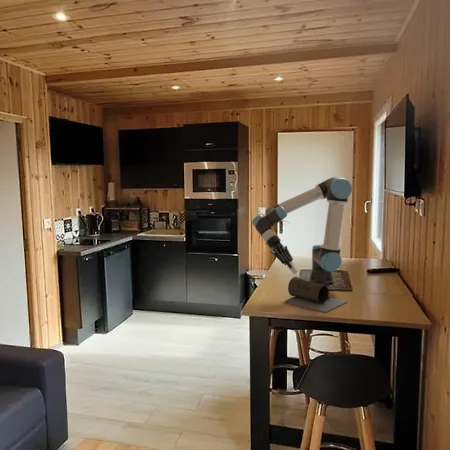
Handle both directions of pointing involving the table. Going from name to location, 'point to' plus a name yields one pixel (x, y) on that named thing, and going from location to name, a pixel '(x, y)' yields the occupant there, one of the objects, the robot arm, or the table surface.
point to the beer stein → (308, 290)
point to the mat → (317, 304)
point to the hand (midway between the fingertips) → (295, 272)
